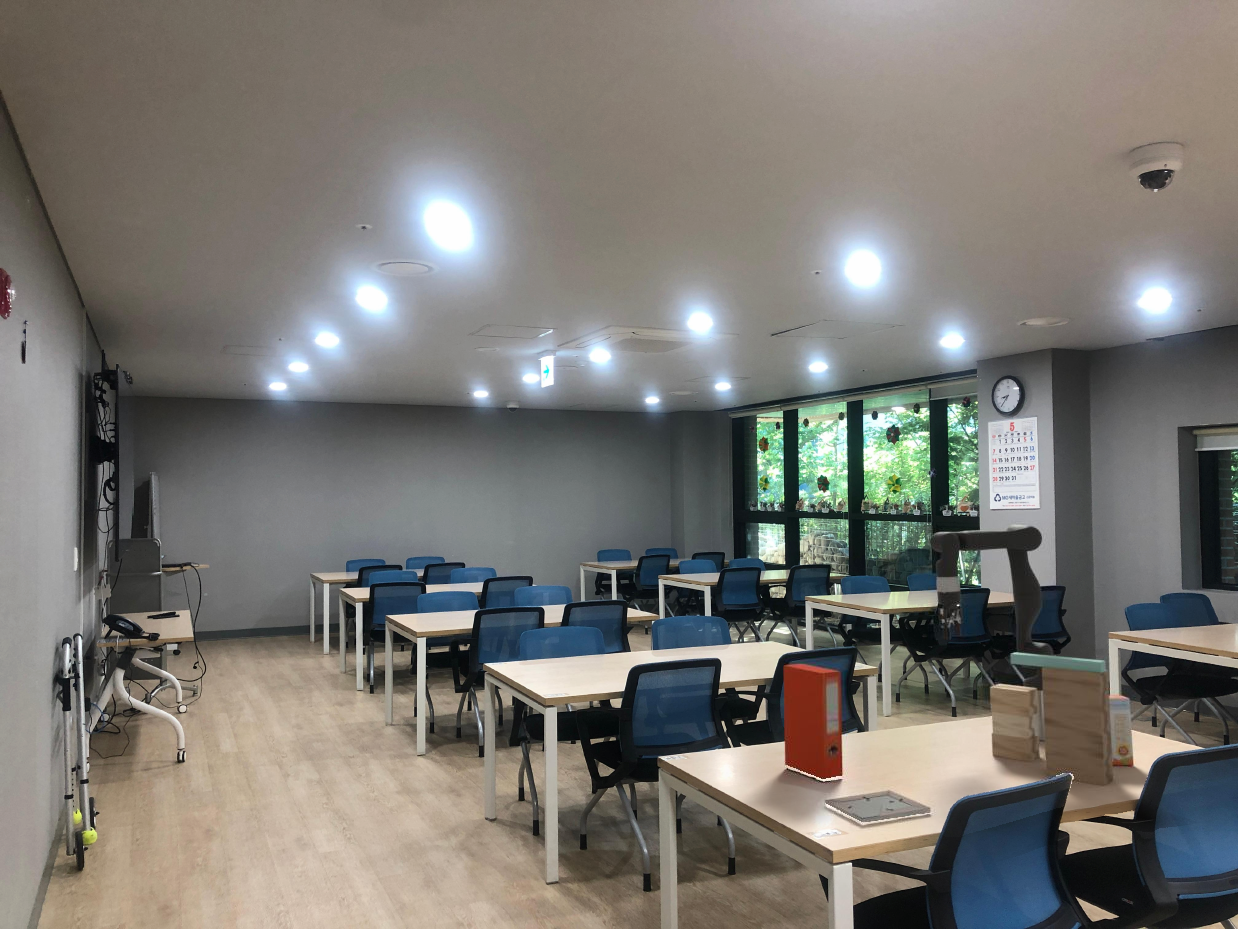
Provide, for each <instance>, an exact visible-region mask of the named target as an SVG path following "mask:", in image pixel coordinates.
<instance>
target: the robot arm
mask: <svg viewBox="0 0 1238 929" xmlns="http://www.w3.org/2000/svg"><path fill="white" fill-rule="evenodd" d="M1042 542H1043V536H1042V533H1041V531H1040V530H1039V529H1038V528H1036V527H1035V526H1033V525H1028V524H1012V525H1010V526H1008V528H1007V529H1006V530H984V529H983V530H963V531H939V532H935V533H934V534H932V535H931V537H930V539H929V545H930V547H931V548H932V550H933V551H935V552H938V553H941V554H940V559H938V560H937V561H936V562H935V569H936V593H937V603H938V604H939V605H942V608H938V610H937V611H938V612H937V613H938V627H941V628H942V632H943V633H942V634H943V639H944V640H950V639H952V634H951V624H952V628H953V635H954V636H958V637H959V636H962V630H961V625H962V623H964V617H963V607H962V604H961V603H962V594H961V585H960V583H961V582H960V578H959V571H958V570H959V568H958V567H959V566H958V561H959V558H960V557H959V556H960V551H961V552H976V551H990V550H1000V549H1001V550H1003V549H1005V550H1006V553H1007V557H1008V561H1009V567H1010V568H1009V570H1010V575H1011V576H1010V577H1011V582H1012V584H1011V585H1012V597H1013V604H1014V613H1015V623H1016V653H1027V654H1038V655H1049V656H1054V650H1053V647H1052V646H1051V645H1050V644H1049V643H1044V642H1036V641H1035V642H1034V641H1032V628H1033V626H1034V623H1035V621H1036V620H1037V618H1038V616H1039V615H1040V613H1041V611H1042V608H1043V597H1042V596H1043V595H1042V588H1041V585H1040V584H1041V583H1039V580H1038V578H1037V576H1036V575H1035V573H1034V571H1033V569H1032V567H1031V564H1030V561H1029V556H1028V555H1029V554H1028V552H1033V551H1036V550H1037V549H1038V548H1040V546H1041V544H1042ZM1019 665H1020V666H1021V667H1022V668H1028V669H1036V671H1037V672H1036V673H1037V674H1036V675H1035V676H1031V677H1028V678H1025V679H1024V680H1023V687H1031V688H1037V704H1038V713H1037V714H1035V715H1034V724H1035V734H1036V735H1039V741H1044V742H1045V729H1044V705H1043V682H1042V668H1043V667H1040V666H1030V665H1021V664H1019Z"/></svg>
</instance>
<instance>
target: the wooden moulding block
mask: <svg viewBox="0 0 1238 929" xmlns="http://www.w3.org/2000/svg"><path fill="white" fill-rule="evenodd" d="M1042 682H1043V705H1044V729H1045V741H1044V745H1045V746H1044V748H1045V749H1044V750H1045V770H1046V771H1045V772H1046V776H1048V777H1049V776H1050V777H1054V776H1056V775H1060V774H1062V773H1071V774H1073V776H1074V780H1073V781H1075V780H1080V781H1079V782H1081V781H1084V782H1083V783H1086V782H1088V784H1092V783H1093V785H1097V784H1098V785H1099V786H1102V785H1104V787H1105V786H1106V784H1107V785H1108V784H1110V783H1111V782H1112V781H1114V772H1113V770H1114V765H1112V744H1111V723H1110V702H1109V695H1110V688H1109V687H1110V686H1109V684H1110V683H1109V669H1106V671H1105V672H1102V673H1099V672H1089V671H1080V670H1070V669H1060V668H1050V667H1043V668H1042ZM1109 782H1110V783H1109Z"/></svg>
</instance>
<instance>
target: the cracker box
mask: <svg viewBox="0 0 1238 929" xmlns="http://www.w3.org/2000/svg"><path fill="white" fill-rule="evenodd" d="M1109 702H1110V723H1111V744H1112V765H1113V766H1125V765H1131V766H1134V750H1133V731H1132V730H1133V729H1132V716H1131V701H1130V697H1126V696H1124V695H1120V694H1119V695H1118V694H1117V695H1115V694H1114V695H1113V694H1112V695H1111V694H1109Z"/></svg>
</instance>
